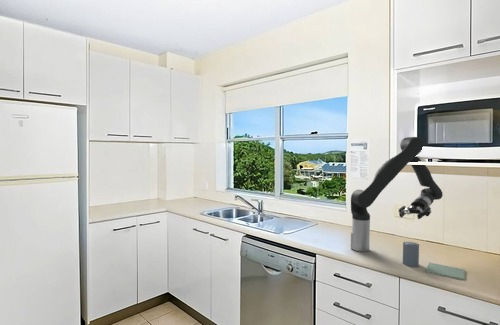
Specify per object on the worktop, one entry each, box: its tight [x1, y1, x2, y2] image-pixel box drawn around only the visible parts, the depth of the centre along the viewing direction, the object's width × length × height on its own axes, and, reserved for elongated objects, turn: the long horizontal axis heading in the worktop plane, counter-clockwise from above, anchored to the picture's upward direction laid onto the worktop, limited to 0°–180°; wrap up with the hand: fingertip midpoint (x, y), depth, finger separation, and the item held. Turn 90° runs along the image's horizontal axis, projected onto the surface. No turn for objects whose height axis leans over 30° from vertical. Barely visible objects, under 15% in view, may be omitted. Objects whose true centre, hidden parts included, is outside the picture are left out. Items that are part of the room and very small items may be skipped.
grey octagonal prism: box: [402, 241, 420, 268], centre depth 141 cm, size 6×6×10 cm
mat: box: [425, 262, 466, 281], centre depth 132 cm, size 14×13×1 cm
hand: (409, 216), depth 149 cm, fingers open, 8 cm apart
